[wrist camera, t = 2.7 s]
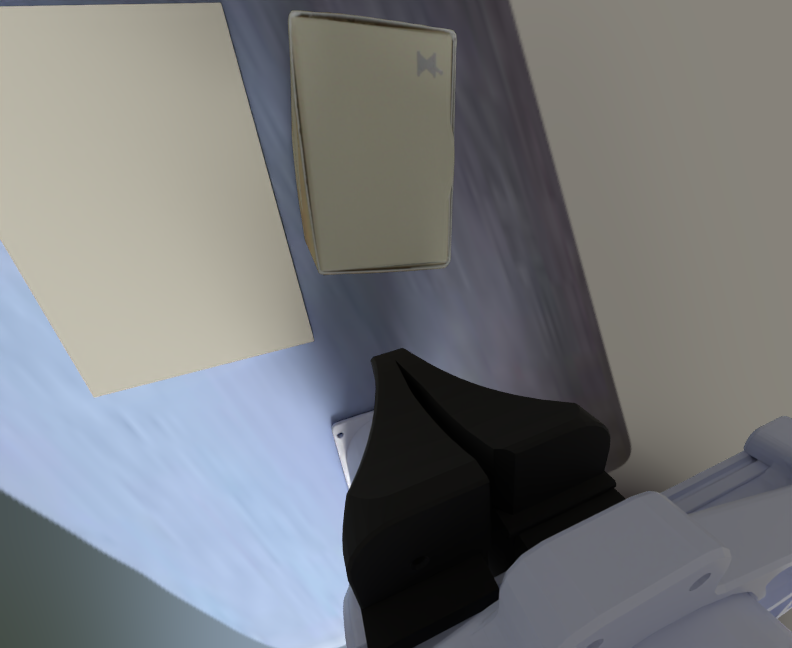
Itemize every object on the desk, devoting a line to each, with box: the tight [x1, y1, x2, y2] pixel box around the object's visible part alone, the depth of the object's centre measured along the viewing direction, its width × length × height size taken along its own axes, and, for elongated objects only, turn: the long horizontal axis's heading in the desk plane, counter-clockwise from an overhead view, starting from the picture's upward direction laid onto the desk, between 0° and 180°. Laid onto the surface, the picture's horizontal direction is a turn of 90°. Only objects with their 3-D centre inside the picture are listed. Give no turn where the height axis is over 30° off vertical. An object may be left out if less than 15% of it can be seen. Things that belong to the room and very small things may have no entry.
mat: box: [0, 3, 314, 397], centre depth 17 cm, size 18×13×1 cm
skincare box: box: [288, 10, 457, 275], centre depth 14 cm, size 6×4×12 cm
